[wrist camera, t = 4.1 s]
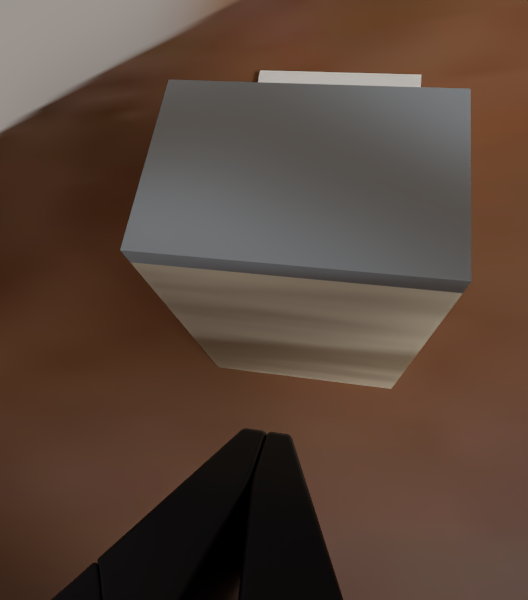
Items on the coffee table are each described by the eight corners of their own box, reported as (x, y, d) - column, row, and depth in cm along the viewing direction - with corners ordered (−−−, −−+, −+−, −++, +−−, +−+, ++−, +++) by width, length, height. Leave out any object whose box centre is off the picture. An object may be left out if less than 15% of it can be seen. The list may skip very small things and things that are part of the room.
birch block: (391, 388, 16) (471, 281, 8) (218, 367, 17) (120, 249, 8) (397, 280, 17) (470, 88, 9) (236, 265, 18) (168, 79, 10)
